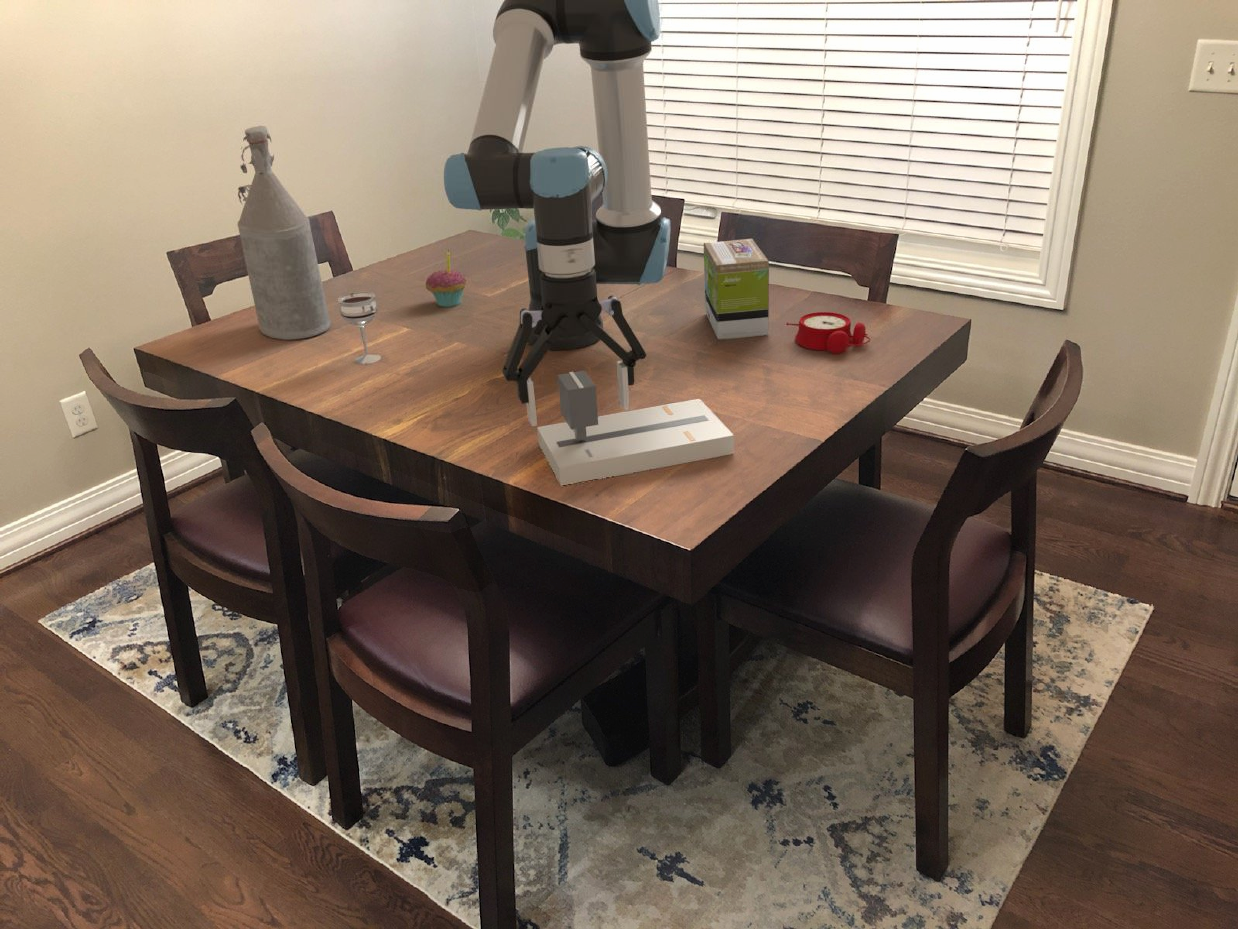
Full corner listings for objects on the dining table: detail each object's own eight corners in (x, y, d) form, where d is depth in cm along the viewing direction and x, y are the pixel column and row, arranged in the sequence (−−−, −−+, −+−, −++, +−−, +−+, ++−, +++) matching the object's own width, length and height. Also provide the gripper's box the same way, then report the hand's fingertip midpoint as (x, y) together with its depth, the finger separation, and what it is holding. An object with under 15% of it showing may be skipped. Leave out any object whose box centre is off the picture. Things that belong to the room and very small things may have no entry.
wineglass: (373, 349, 194) (362, 289, 189) (393, 357, 190) (382, 296, 184) (342, 360, 190) (330, 298, 185) (361, 368, 186) (350, 306, 180)
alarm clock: (816, 307, 191) (881, 307, 180) (820, 340, 193) (885, 342, 182) (778, 321, 186) (843, 322, 174) (783, 355, 188) (847, 358, 176)
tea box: (703, 314, 202) (702, 240, 195) (753, 310, 203) (754, 236, 196) (716, 340, 189) (715, 263, 182) (769, 336, 189) (771, 258, 182)
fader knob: (562, 431, 150) (557, 374, 145) (588, 427, 151) (584, 369, 146) (572, 449, 144) (567, 389, 140) (599, 444, 145) (595, 385, 141)
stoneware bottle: (296, 312, 217) (255, 118, 198) (345, 327, 207) (307, 124, 188) (243, 330, 208) (195, 129, 190) (292, 346, 198) (246, 135, 180)
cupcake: (477, 299, 218) (470, 244, 212) (451, 312, 211) (443, 255, 206) (446, 294, 222) (439, 240, 216) (420, 306, 216) (411, 251, 210)
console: (538, 445, 154) (537, 426, 153) (699, 416, 160) (699, 398, 159) (560, 486, 142) (559, 467, 141) (733, 453, 148) (733, 434, 147)
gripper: (480, 290, 130) (498, 439, 140) (664, 264, 136) (669, 409, 145) (470, 274, 136) (488, 418, 146) (647, 250, 142) (653, 390, 152)
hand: (578, 414), depth 146 cm, fingers open, 13 cm apart
